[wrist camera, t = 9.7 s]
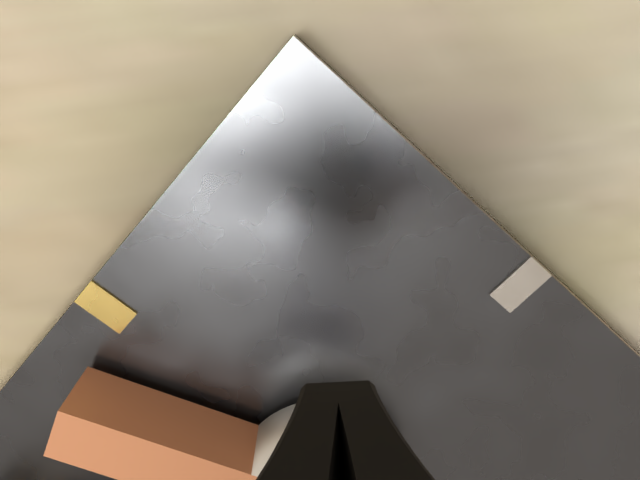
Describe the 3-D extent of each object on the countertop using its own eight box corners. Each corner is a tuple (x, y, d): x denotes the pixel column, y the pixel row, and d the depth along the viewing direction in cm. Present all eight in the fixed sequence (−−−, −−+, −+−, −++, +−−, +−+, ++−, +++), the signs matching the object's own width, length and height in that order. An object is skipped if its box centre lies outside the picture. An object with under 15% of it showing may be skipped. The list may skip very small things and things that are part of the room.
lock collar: (435, 433, 21) (449, 483, 18) (364, 550, 23) (369, 609, 20) (104, 315, 19) (75, 354, 17) (59, 452, 21) (27, 505, 19)
